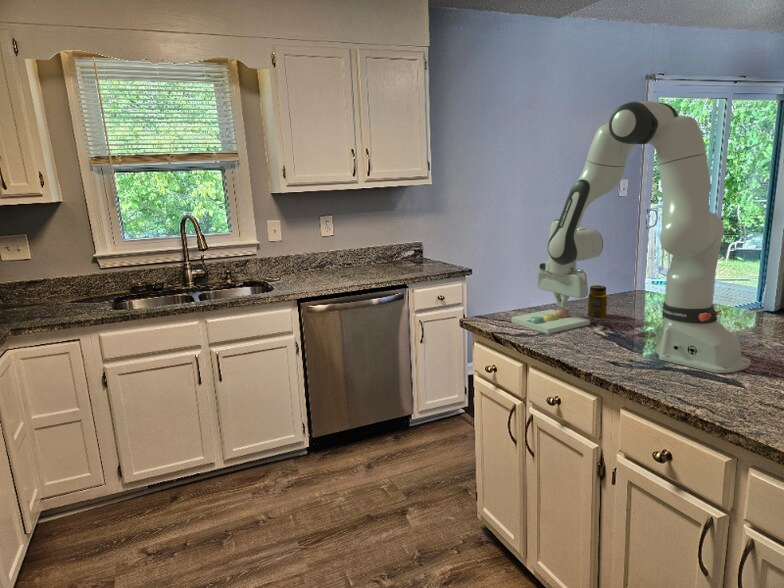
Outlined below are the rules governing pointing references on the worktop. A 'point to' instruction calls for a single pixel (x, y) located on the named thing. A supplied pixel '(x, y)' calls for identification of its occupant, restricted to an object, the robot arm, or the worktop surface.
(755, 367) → the worktop surface
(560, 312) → the salmon brown ball
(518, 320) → the panel
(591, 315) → the condiment
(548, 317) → the button mustard
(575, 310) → the worktop surface
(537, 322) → the button teal
